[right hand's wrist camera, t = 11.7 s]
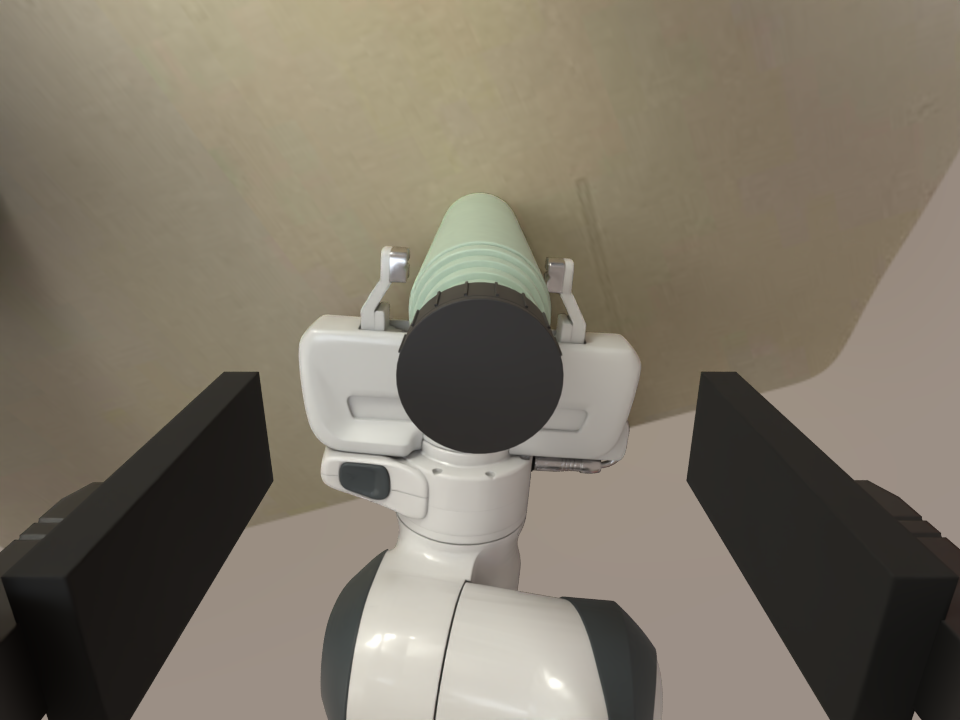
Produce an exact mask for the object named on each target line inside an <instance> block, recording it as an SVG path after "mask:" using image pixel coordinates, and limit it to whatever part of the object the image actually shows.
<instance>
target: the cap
mask: <svg viewBox="0 0 960 720" xmlns="http://www.w3.org/2000/svg"><path fill="white" fill-rule="evenodd" d="M398 353H400V354H399V358H398V362H397V369H396V385H397V390H398V395H399V398H400V401H401V404H402V406H403V408H404V410H405V412H406V414H407V415H408V417H409V418H410V420H411V421H412V422H413V423H414V425H415V426H416V427H417V428H418V429H419V430H420V431H421V432H422V433H423V434H425V435H426V436H427V437H429V438H430V439H431V440H433V441H434V442H436V443H438V444H440V445H442V446H444V447H447V448H449V449H452V450H455V451H460V452H464V453H472V454H488V453H496V452H500V451H504V450H507V449H510V448H513V447H516V446H518V445H520V444H522V443H523V442H525V441H527V440H528V439H530V438H531V437H533V436H534V435H535V434H536V433H537V432H538V431H540V430H541V429H542V428H543V426H544V425H545V424H546V423H547V422H548V421H549V419H550V418H551V416H552V415H553V413H554V411H555V409H556V407H557V405H558V403H559V400H560V397H561V393H562V388H563V379H564V372H563V363H562V359H561V356H562V352H561V349H560V347H559V344H558V341H557V339H556V337H554V336H553V333H552V330H551V328H550V325H549V322H548V320H547V317H546V314H545V313H544V312H543V313H542V312H541V311H540V309H539V308H538V307H537V306H536V305H535V304H534V303H533V302H532V301H531V300H529V299H528V298H527V297H526V296H525V293H523V292H522V294H521V293H519V292H517V291H516V290H514V289H511V288H509V287H506V286H503V285H499V284H498V282H495V283H488V282H472V283H468V281H465V283H464V284H461V285H457V286H453V287H451V288H449V289H446V290H444V291H442V292H440V291H438V292H437V295H436V296H434V297H433V298H432V299H430V300H429V301H428V302H427V303H426V304H425V305H424V306H423V307H422V308H421V309H420V310H417V311H416V313H415V316H414V319H413V321H412V323H411V325H410V327H409V330H408V332H407V334H404V337H403V340H402V342H401V345H400V348H399V350H398Z"/></svg>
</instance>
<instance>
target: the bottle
mask: <svg viewBox="0 0 960 720" xmlns="http://www.w3.org/2000/svg"><path fill="white" fill-rule="evenodd" d="M465 281H468V283H472V282H488V283H495V282H498V284H499V285H503V286H506V287H509V288H511V289H514V290H516V291H517V292H519V293H521V294H522V292H523V293H525V296H526V297H527V298H528V299H529V300H531V301H532V302H533V303H534V304H535V305H536V306H537V307H538V308H539V309H540V311H541V312H542V313H543V312H544V313H545V314H546V317H547V320H548V322H549V325H550V323H551V301H550V295H549V291H548V288H547V285H546V283H545V280H544V278H543V276H542V274H541V272H540V269H539V267H538V265H537V263H536V260H535V258H534V256H533V254H532V251H531V249H530V247H529V245H528V243H527V240H526V238H525V236H524V234H523V231H522V229H521V227H520V225H519V222H518V220H517V218H516V216H515V214H514V212H513V210H512V209H511V208H510V206H509V205H508V204H507V203H506V202H504V201H503V200H502V199H500V198H498V197H496V196H494V195H491V194H487V193H473V194H469V195H466V196H463V197H461V198H460V199H458V200H457V201H456V202H454V203H453V204H452V205H451V206H450V208H449V209H448V210H447V212H446V214H445V215H444V218H443V220H442V222H441V224H440V227H439V229H438V231H437V233H436V235H435V238H434V240H433V242H432V244H431V247H430V249H429V251H428V253H427V255H426V258H425V260H424V262H423V264H422V267H421V269H420V271H419V273H418V275H417V278H416V280H415V282H414V285H413V287H412V290H411V294H410V299H409V325H411V323H412V321H413V319H414V316H415V313H416V311H417V310H420V309H421V308H422V307H423V306H424V305H425V304H426V303H427V302H428V301H429V300H430V299H432V298H433V297H434V296H436V295H437V292H438V291H440V292H442V291H444V290H446V289H449V288H451V287H453V286H457V285H461V284H464V283H465Z"/></svg>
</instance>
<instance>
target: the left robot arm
mask: <svg viewBox="0 0 960 720" xmlns="http://www.w3.org/2000/svg"><path fill="white" fill-rule="evenodd" d="M409 258H410V248H406V247H395V246H384V247H383V248H382V252H381V278H380V280H379V281H378V283H377V284H376V286H375V288H374V289H373V291H372V292H371V294H370V296H369V297H368V299H367V300H366V302H365V304H364V305H363V307H362V308H361V317H357V316H342V315H323V316H321V317H319V318H318V319H317V320H316V321H315V322H314V323H313V324H312V325H310V327H309V328H308V329H307V330H306V331H305V333H304V334H303V336H302V337H301V340H300V343H299V368H300V378H301V386H302V393H303V399H304V404H305V409H306V414H307V418H308V422H309V425H310V427H311V429H312V431H313V433H314V434H315V436H316V437H317V438H318V439H319V440H320V441H321V442H322V443H323V444H325V445H326V448H325V451H324V455H323V459H322V464H321V477H322V480H323V482H324V483H325V484H326V485H328V486H329V487H331V488H334V489H336V490H339V491H342V492H345V493H348V494H351V495H354V496H357V497H360V498H363V499H366V500H369V501H371V502H374V503H376V504H379V505H382V506H384V507H386V508H389V509H391V510H393V511H395V512H396V515H397V519H398V524H399V536H398V540H397V544H396V546H395V548H394V549H392V550H388V549H387V550H385V551H383V552H382V553H380V554H379V555H378V556H376V557H375V558H374V559H373V560H372V561H371V562H369V563H368V564H367V565H366V566H365V567H364V568H363V569H362V570H361V571H360V572H359V573H358V574H357V575H355V576H354V577H353V578H352V579H351V580H350V581H349V583H348V584H347V585H346V586H345V587H344V589H343V590H342V592H341V593H340V595H339V597H338V599H337V601H336V603H335V605H334V607H333V610H332V612H331V614H330V617H329V620H328V624H327V628H326V632H325V638H324V644H323V652H322V663H321V696H322V700H323V704H324V708H325V711H326V714H327V717H328V720H662V702H663V701H662V700H663V698H662V697H663V692H662V680H661V673H660V669H659V664H658V661H657V655H656V649H655V647H654V646H653V645H652V643H651V642H650V640H649V639H648V637H647V636H646V635H645V633H644V632H643V631H642V630H641V628H640V627H639V626H638V625H637V624H636V623H635V622H634V621H633V619H632V618H631V617H630V616H629V615H628V614H627V613H626V612H625V611H624V610H623V609H622V608H621V607H620V606H619V605H618V604H617V603H616V602H614V601H608V600H596V599H585V598H573V597H560V598H556V597H550V596H544V595H538V594H533V593H527V592H521V591H517V589H518V582H519V575H520V554H519V550H518V545H517V540H518V536H519V534H520V532H521V530H522V528H523V526H524V523H525V519H526V513H527V504H528V496H529V487H530V478H531V472H532V471H533V470H538V471H579V472H580V473H599V472H600V471H601V468H605V467H609V466H611V465H613V464H615V463H617V462H618V461H619V460H621V459H622V458H623V456H624V454H625V451H626V448H627V442H628V436H629V423H628V420H627V419H628V416H629V413H630V410H631V407H632V404H633V401H634V397H635V394H636V390H637V386H638V382H639V378H640V373H641V361H640V358H639V356H638V354H637V353H636V351H635V349H634V348H633V347H632V345H631V344H630V343H629V342H628V341H627V340H626V339H625V338H624V337H623V336H622V335H620V334H614V333H599V332H585V331H586V323H585V320H584V318H583V316H582V314H581V311H580V309H579V307H578V304H577V302H576V300H575V298H574V295H573V293H572V292H571V290H572V282H573V274H574V262H573V261H572V259H569V258H552V257H546V261H545V268H546V270H547V271H546V273H545V274H544V280H545V283H546V285H547V288H548V291H549V292H550V293H559V294H560V297H561V299H562V301H563V303H564V306H565V308H566V310H567V312H568V316H567V315H566V314H559V315H558V321H557V329H556V330H554V329H551V330H552V333H553V336H554V337H556V339H557V341H558V344H559V347H560V349H561V352H562V356H561V359H562V363H563V372H564V379H563V388H562V393H561V397H560V400H559V403H558V405H557V407H556V409H555V411H554V413H553V415H552V416H551V418H550V419H549V421H548V422H547V423H546V424H545V425H544V426H543V428H542V429H541V430H540V431H538V432H537V433H536V434H535V435H534V436H533V437H531V438H530V439H528V440H527V441H525V442H523V443H522V444H520V445H518V446H516V447H513V448H510V449H507V450H504V451H500V452H496V453H488V454H472V453H464V452H460V451H455V450H452V449H449V448H447V447H444V446H442V445H440V444H438V443H436V442H434V441H433V440H431V439H430V438H429V437H427V436H426V435H425V434H423V433H422V432H421V431H420V430H419V429H418V428H417V427H416V426H415V425H414V423H413V422H412V421H411V420H410V418H409V417H408V415H407V414H406V412H405V410H404V408H403V406H402V404H401V401H400V398H399V395H398V390H397V385H396V369H397V362H398V358H399V354H400V353H398V350H399V348H400V345H401V342H402V340H403V337H404V334H407V332H408V330H409V327H410V325H409V320H403V319H389V316H390V304H389V303H388V302H381V303H380V301H381V299H382V297H383V296H384V294H385V293H386V291H387V289H388V288H389V286H390V285H391V283H392V282H403V283H406V282H407V279H408V278H409V268H410V265H409V263H408V260H409ZM601 460H607V461H603V462H601Z"/></svg>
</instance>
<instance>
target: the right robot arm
mask: <svg viewBox="0 0 960 720" xmlns="http://www.w3.org/2000/svg"><path fill="white" fill-rule="evenodd" d="M272 482H273V473H272V466H271V459H270V451H269V444H268V436H267V429H266V422H265V414H264V407H263V399H262V392H261V385H260V377H259V372H223V373H222V374H221V375H220V376H219V377H218V378H217V379H216V380H215V381H213V382H212V383H211V384H210V385H209V386H208V387H207V388H206V389H205V390H204V391H203V392H201V393H200V394H199V395H198V396H197V397H196V398H195V399H194V400H193V401H192V402H191V403H190V404H188V405H187V406H186V407H185V408H184V409H183V410H182V411H181V412H180V413H179V414H178V415H176V416H175V417H174V418H173V419H172V420H171V421H170V422H169V423H168V424H167V425H166V426H164V427H163V428H162V429H161V430H160V431H159V432H158V433H157V434H156V435H155V436H154V437H153V438H151V439H150V440H149V441H148V442H147V443H146V444H145V445H144V446H143V447H142V448H141V449H139V450H138V451H137V452H136V453H135V454H134V455H133V456H132V457H131V458H130V459H129V460H127V461H126V462H125V463H124V464H123V465H122V466H121V467H120V468H119V469H118V470H117V471H115V472H114V473H113V474H112V475H111V476H110V477H109V478H108V479H107V480H106V481H105V482H93V483H91V484H89V485H87V486H85V487H83V488H82V489H80V490H78V491H76V492H74V493H72V494H70V495H68V496H67V497H65V498H63V499H61V500H60V501H59V502H58V503H57V504H55V505H54V506H53V507H52V508H51V509H50V510H49V511H47V512H46V513H45V514H44V515H43V516H42V517H40V518H39V522H38V523H33V524H32V525H31V526H30V527H29V528H28V529H27V530H25V531H24V532H23V533H22V534H21V535H20V538H19V540H14V541H13V542H12V543H10V544H9V545H8V546H7V547H6V548H5V549H3V550H2V551H1V552H0V720H41V719H42V718H43V716H44V715H45V714H47V717H48V720H130V719H131V717H132V716H133V714H134V712H135V711H136V709H137V707H138V706H139V704H140V702H141V701H142V699H143V697H144V695H145V694H146V692H147V691H148V689H149V687H150V686H151V684H152V682H153V681H154V679H155V677H156V676H157V674H158V672H159V671H160V669H161V667H162V666H163V664H164V662H165V661H166V659H167V657H168V655H169V654H170V652H171V651H172V649H173V647H174V646H175V644H176V642H177V641H178V639H179V637H180V636H181V634H182V632H183V631H184V629H185V627H186V626H187V624H188V622H189V621H190V619H191V617H192V616H193V614H194V612H195V611H196V609H197V607H198V606H199V604H200V602H201V601H202V599H203V597H204V596H205V594H206V592H207V591H208V589H209V587H210V586H211V584H212V582H213V581H214V579H215V577H216V576H217V574H218V572H219V571H220V569H221V567H222V566H223V564H224V562H225V561H226V559H227V557H228V555H229V554H230V552H231V551H232V549H233V547H234V546H235V544H236V542H237V541H238V539H239V537H240V536H241V534H242V532H243V531H244V529H245V527H246V526H247V524H248V522H249V521H250V519H251V517H252V516H253V514H254V512H255V511H256V509H257V507H258V506H259V504H260V502H261V501H262V499H263V497H264V496H265V494H266V492H267V491H268V489H269V487H270V486H271V484H272ZM687 482H688V484H689V486H690V487H691V489H692V491H693V492H694V494H695V496H696V497H697V499H698V501H699V502H700V504H701V506H702V507H703V509H704V511H705V512H706V514H707V516H708V517H709V519H710V521H711V522H712V524H713V526H714V527H715V529H716V531H717V532H718V534H719V536H720V537H721V539H722V541H723V542H724V544H725V546H726V547H727V549H728V550H729V552H730V554H731V556H732V557H733V559H734V561H735V562H736V564H737V566H738V567H739V569H740V571H741V572H742V574H743V576H744V577H745V579H746V581H747V582H748V584H749V586H750V587H751V589H752V591H753V592H754V594H755V595H756V597H757V599H758V601H759V602H760V604H761V606H762V607H763V609H764V611H765V612H766V614H767V616H768V617H769V619H770V621H771V622H772V624H773V626H774V627H775V629H776V631H777V632H778V634H779V636H780V637H781V639H782V641H783V642H784V644H785V646H786V647H787V649H788V650H789V652H790V654H791V656H792V657H793V659H794V661H795V662H796V664H797V666H798V667H799V669H800V671H801V672H802V674H803V676H804V677H805V679H806V681H807V682H808V684H809V686H810V687H811V689H812V691H813V692H814V694H815V696H816V697H817V699H818V701H819V702H820V704H821V706H822V707H823V709H824V711H825V712H826V714H827V716H828V717H829V719H830V720H912V717H913V714H914V711H915V712H916V713H917V714H918V716H919V717H920V718H921V720H960V549H959V548H958V547H957V546H955V545H954V544H953V543H952V542H951V541H950V540H948V539H947V538H946V537H941V533H940V532H939V531H938V530H937V529H936V528H934V527H933V526H932V525H931V524H930V523H929V522H927V521H923V520H922V516H920V515H919V514H918V513H917V512H916V511H915V510H913V509H912V508H911V507H910V506H909V505H908V504H907V503H905V502H904V501H903V500H902V499H901V498H900V497H898V496H896V495H894V494H892V493H890V492H889V491H887V490H885V489H883V488H881V487H879V486H877V485H875V484H874V483H872V482H870V481H868V480H853V479H852V478H851V477H850V476H849V475H848V474H847V473H846V472H844V471H843V470H842V469H841V468H840V467H839V466H838V465H837V464H836V463H835V462H834V461H833V460H831V459H830V458H829V457H828V456H827V455H826V454H825V453H824V452H823V451H822V450H820V449H819V448H818V447H817V446H816V445H815V444H814V443H813V442H812V441H811V440H810V439H809V438H807V437H806V436H805V435H804V434H803V433H802V432H801V431H800V430H799V429H798V428H797V427H796V426H794V425H793V424H792V423H791V422H790V421H789V420H788V419H787V418H786V417H785V416H783V415H782V414H781V413H780V412H779V411H778V410H777V409H776V408H775V407H774V406H773V405H772V404H770V403H769V402H768V401H767V400H766V399H765V398H764V397H763V396H762V395H761V394H760V393H759V392H757V391H756V390H755V389H754V388H753V387H752V386H751V385H750V384H749V383H748V382H747V381H745V380H744V379H743V378H742V377H741V376H740V375H739V374H738V373H737V372H701V377H700V385H699V392H698V399H697V407H696V414H695V422H694V429H693V436H692V444H691V451H690V459H689V466H688V473H687Z"/></svg>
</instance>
